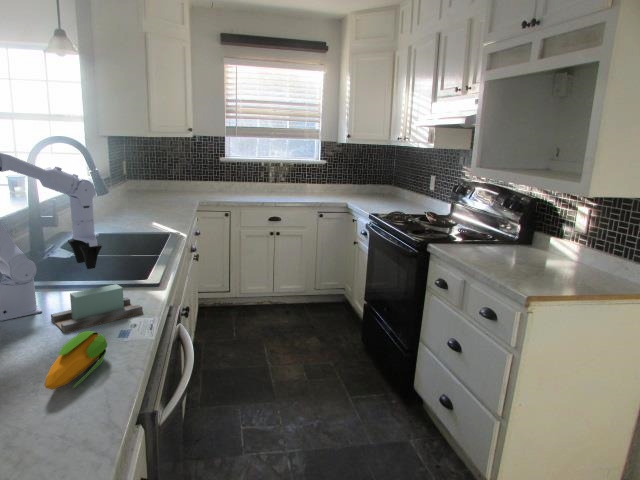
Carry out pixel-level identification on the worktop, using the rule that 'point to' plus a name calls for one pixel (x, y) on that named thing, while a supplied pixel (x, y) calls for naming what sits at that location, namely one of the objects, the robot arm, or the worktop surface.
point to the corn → (76, 359)
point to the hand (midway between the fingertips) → (86, 265)
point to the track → (93, 317)
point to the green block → (96, 301)
